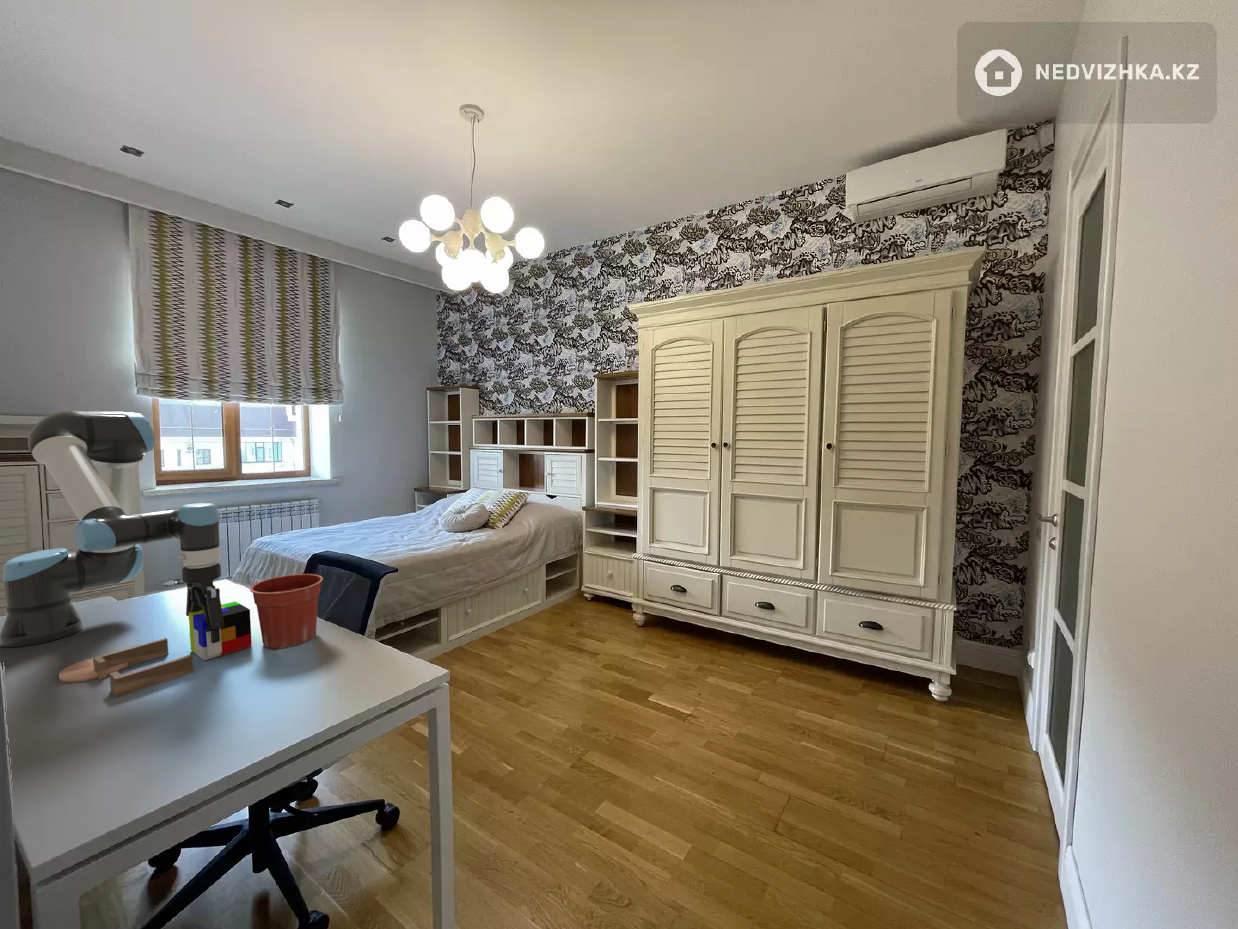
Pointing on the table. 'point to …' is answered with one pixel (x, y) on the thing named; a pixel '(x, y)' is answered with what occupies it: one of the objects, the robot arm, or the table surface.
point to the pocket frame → (143, 676)
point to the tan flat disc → (85, 671)
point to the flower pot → (287, 609)
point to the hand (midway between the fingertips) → (206, 648)
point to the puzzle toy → (222, 630)
